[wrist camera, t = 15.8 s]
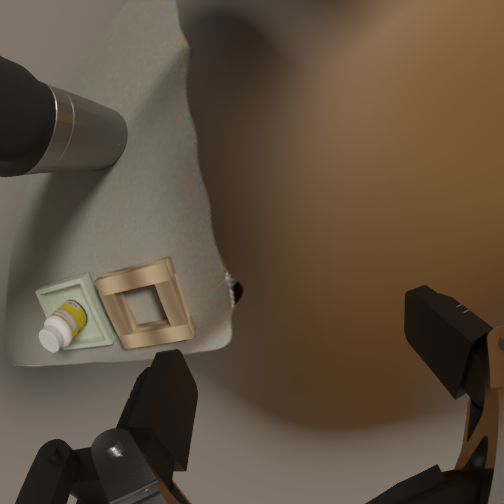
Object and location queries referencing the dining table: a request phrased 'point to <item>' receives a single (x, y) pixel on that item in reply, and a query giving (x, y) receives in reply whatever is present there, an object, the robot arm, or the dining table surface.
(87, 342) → the tray
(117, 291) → the holder block
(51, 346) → the supplement bottle
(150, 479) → the robot arm
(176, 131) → the dining table surface
